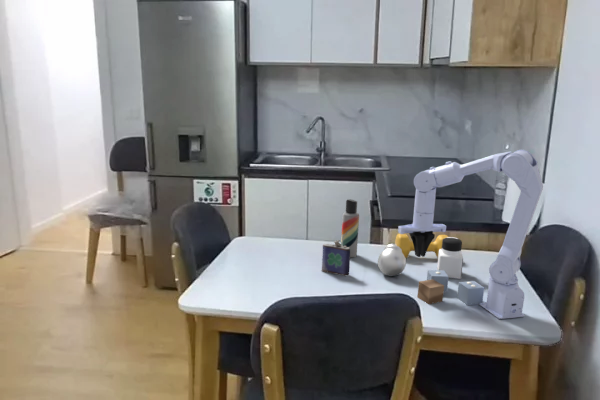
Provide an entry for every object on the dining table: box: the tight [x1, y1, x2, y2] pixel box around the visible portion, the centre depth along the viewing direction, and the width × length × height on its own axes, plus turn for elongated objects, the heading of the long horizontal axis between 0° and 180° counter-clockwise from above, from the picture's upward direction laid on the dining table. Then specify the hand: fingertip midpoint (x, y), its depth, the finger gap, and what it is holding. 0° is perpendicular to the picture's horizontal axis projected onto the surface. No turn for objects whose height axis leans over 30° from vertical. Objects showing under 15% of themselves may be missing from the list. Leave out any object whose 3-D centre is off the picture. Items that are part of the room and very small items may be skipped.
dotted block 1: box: [426, 269, 450, 293], centre depth 162 cm, size 5×5×5 cm
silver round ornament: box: [377, 243, 407, 277], centre depth 171 cm, size 9×10×10 cm
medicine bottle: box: [436, 236, 464, 280], centre depth 173 cm, size 7×7×12 cm
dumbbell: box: [394, 233, 449, 259], centre depth 189 cm, size 19×9×8 cm, turn 89°
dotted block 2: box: [456, 280, 485, 306], centre depth 154 cm, size 5×5×5 cm
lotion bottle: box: [340, 198, 360, 259], centre depth 186 cm, size 6×6×20 cm
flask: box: [321, 239, 351, 277], centre depth 171 cm, size 9×3×11 cm, turn 65°
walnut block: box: [417, 279, 445, 305], centre depth 154 cm, size 5×5×5 cm
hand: (419, 255), depth 159 cm, fingers closed
